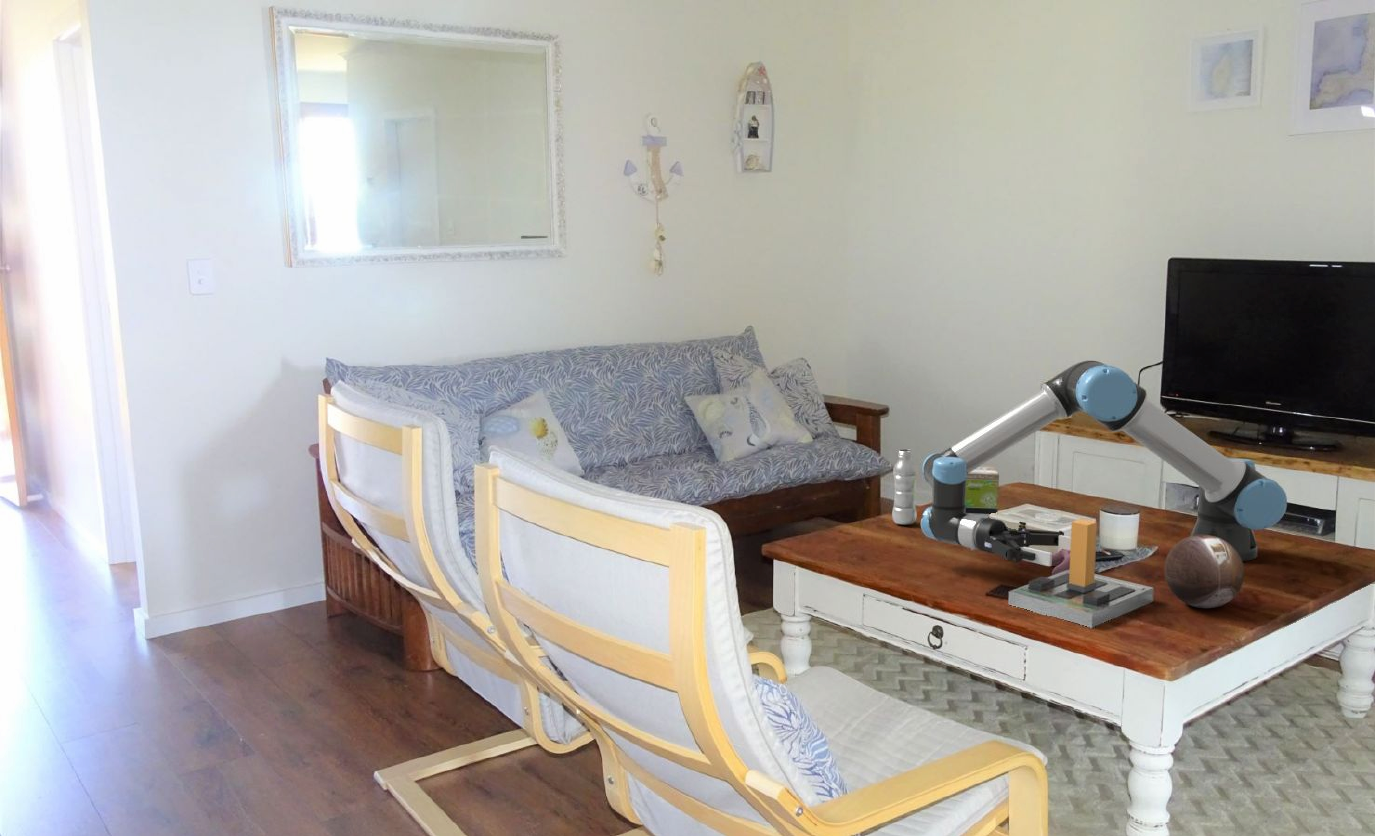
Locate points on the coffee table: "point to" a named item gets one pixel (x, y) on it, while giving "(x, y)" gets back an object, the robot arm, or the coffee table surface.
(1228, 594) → the wooden sphere
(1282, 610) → the coffee table surface
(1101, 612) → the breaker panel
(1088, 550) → the handle
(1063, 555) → the video game controller
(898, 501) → the plastic bottle
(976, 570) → the coffee table surface
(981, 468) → the tea box
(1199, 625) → the coffee table surface
